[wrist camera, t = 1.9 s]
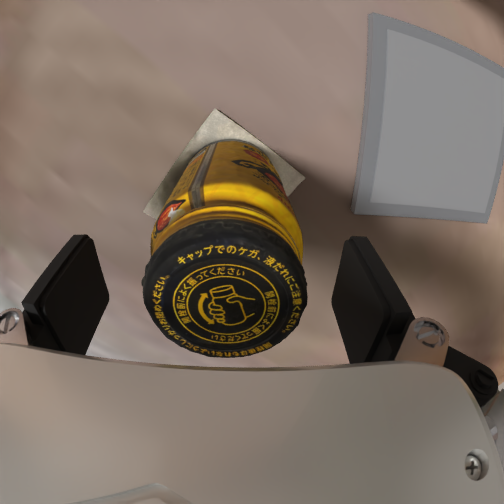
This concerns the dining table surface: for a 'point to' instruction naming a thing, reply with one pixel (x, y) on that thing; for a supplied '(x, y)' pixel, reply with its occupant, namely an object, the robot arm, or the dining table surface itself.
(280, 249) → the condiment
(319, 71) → the dining table surface
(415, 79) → the plate
